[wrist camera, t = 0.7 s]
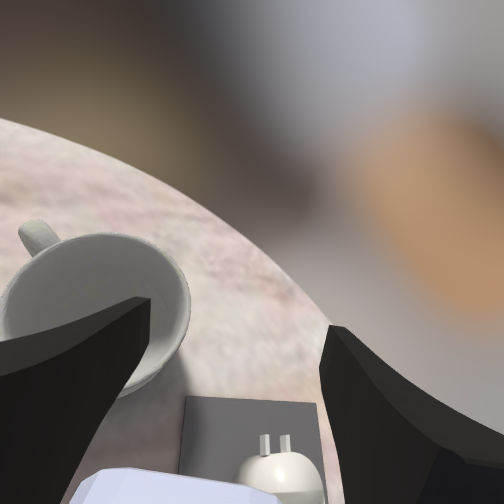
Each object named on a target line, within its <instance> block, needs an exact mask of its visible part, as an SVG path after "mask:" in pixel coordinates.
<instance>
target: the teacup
mask: <svg viewBox="0 0 504 504" xmlns="http://www.w3.org/2000/svg"><path fill="white" fill-rule="evenodd" d="M18 234H19V236H20V238H21V240H22V242H23V244H24V246H25V247H26V249H27V250H28V252H29V253H30V255H31V256H32V259H31V260H29V261H28V262H27V263H26V264H25V265H24V266H23V267H22V268H21V269H20V270H19V271H18V272H17V273H16V274H15V275H14V276H13V278H12V279H11V281H10V282H9V283H8V285H7V286H6V288H5V290H4V292H3V294H2V296H1V299H0V342H1V341H5V340H9V339H14V338H18V337H22V336H27V335H31V334H35V333H39V332H42V331H46V330H49V329H52V328H56V327H59V326H62V325H65V324H68V323H70V322H73V321H76V320H78V319H81V318H84V317H86V316H89V315H91V314H94V313H96V312H99V311H101V310H103V309H106V308H108V307H110V306H113V305H115V304H117V303H120V302H122V301H125V300H127V299H130V298H132V297H136V296H137V297H144V298H151V313H150V341H149V344H148V347H147V349H146V351H145V353H144V355H143V357H142V359H141V361H140V363H139V365H138V366H137V368H136V370H135V371H134V373H133V374H132V376H131V377H130V379H129V380H128V382H127V383H126V385H125V386H124V388H123V389H122V391H121V392H120V394H119V395H118V397H117V398H116V399H118V398H121V397H123V396H126V395H128V394H130V393H132V392H134V391H136V390H138V389H140V388H141V387H143V386H144V385H145V384H147V383H148V382H149V381H151V380H152V379H153V378H154V377H155V376H156V375H157V374H158V373H159V372H160V371H161V370H162V368H163V367H164V366H165V365H166V363H167V362H168V361H169V360H170V359H171V358H172V356H173V355H174V354H175V352H176V351H177V350H178V348H179V347H180V345H181V343H182V341H183V339H184V337H185V335H186V332H187V329H188V325H189V320H190V314H191V297H190V291H189V287H188V283H187V281H186V279H185V276H184V274H183V272H182V271H181V269H180V268H179V266H178V265H177V263H176V262H175V261H174V260H173V258H172V257H171V256H169V255H168V254H167V253H166V252H165V251H163V250H161V249H160V248H159V247H157V246H156V245H155V244H152V243H151V242H149V241H147V240H145V239H142V238H140V237H136V236H132V235H128V234H123V233H115V232H98V233H90V234H85V235H80V236H76V237H73V238H70V239H66V240H63V241H61V240H60V239H59V237H58V236H57V235H56V233H55V232H54V231H53V230H52V228H51V227H50V226H49V225H48V224H47V223H45V222H44V221H42V220H32V221H29V222H27V223H24V224H23V225H22V226H21V227H20V228H19V230H18Z"/></svg>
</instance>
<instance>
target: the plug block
mask: <svg viewBox="0 0 504 504" xmlns="http://www.w3.org/2000/svg"><path fill="white" fill-rule="evenodd" d="M280 449H281V453H276V454H270V443H269V435H268V434H265V435H260V455H254V456H250V457H248V458H246V459H245V460H244V461H243V462H242V463H241V464H240V465H239V467H238V468H237V470H236V472H235V475H234V478H233V483H234V484H241V485H247V486H252V487H254V488H257V489H260V490H263V491H265V492H268V493H271V494H274V495H275V496H276V497H277V498H278V499H279V500H280V501H281V502H282V503H283V504H325V499H324V491H323V485H322V481H321V478H320V475H319V473H318V471H317V469H316V467H315V466H314V465H313V463H312V462H311V461H310V460H309V459H308V458H307V457H305V456H304V455H302V454H300V453H296V452H291V449H290V435H282V436H280Z"/></svg>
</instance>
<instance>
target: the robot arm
mask: <svg viewBox="0 0 504 504" xmlns="http://www.w3.org/2000/svg"><path fill="white" fill-rule="evenodd" d="M150 313H151V298H144V297H137V296H136V297H132V298H130V299H127V300H125V301H122V302H120V303H117V304H115V305H113V306H110V307H108V308H106V309H103V310H101V311H99V312H96V313H94V314H91V315H89V316H86V317H84V318H81V319H78V320H76V321H73V322H70V323H68V324H65V325H62V326H59V327H56V328H52V329H49V330H46V331H42V332H39V333H35V334H31V335H27V336H22V337H18V338H14V339H9V340H5V341H1V342H0V504H60V502H61V500H62V498H63V496H64V494H65V492H66V490H67V488H68V486H69V483H70V481H71V479H72V477H73V475H74V473H75V471H76V469H77V468H78V466H79V464H80V462H81V460H82V458H83V456H84V454H85V452H86V450H87V448H88V446H89V444H90V442H91V440H92V438H93V436H94V435H95V433H96V431H97V429H98V427H99V425H100V423H101V422H102V420H103V418H104V417H105V415H106V413H107V412H108V410H109V409H110V407H111V406H112V404H113V403H114V401H115V400H116V398H117V397H118V395H119V394H120V392H121V391H122V389H123V388H124V386H125V385H126V383H127V382H128V380H129V379H130V377H131V376H132V374H133V373H134V371H135V370H136V368H137V366H138V365H139V363H140V361H141V359H142V357H143V355H144V353H145V351H146V349H147V347H148V344H149V341H150ZM319 373H320V382H321V390H322V395H323V399H324V403H325V407H326V411H327V415H328V419H329V423H330V426H331V430H332V434H333V438H334V442H335V446H336V450H337V455H338V460H339V466H340V472H341V479H342V485H343V492H344V499H345V504H504V435H503V434H500V433H498V432H496V431H494V430H492V429H490V428H488V427H486V426H484V425H482V424H480V423H478V422H476V421H474V420H472V419H470V418H469V417H467V416H465V415H463V414H461V413H459V412H457V411H456V410H454V409H452V408H450V407H449V406H447V405H445V404H444V403H442V402H440V401H438V400H437V399H435V398H434V397H432V396H430V395H429V394H427V393H426V392H424V391H423V390H421V389H420V388H418V387H417V386H415V385H414V384H413V383H411V382H410V381H408V380H407V379H405V378H404V377H403V376H401V375H400V374H399V373H398V372H396V371H395V370H394V369H393V368H391V367H390V366H389V365H388V364H386V363H385V362H384V361H383V360H382V359H380V358H379V357H378V356H377V355H376V354H375V353H373V352H372V351H371V350H370V349H369V348H368V347H367V346H366V345H365V344H364V343H362V342H361V341H360V340H359V339H358V338H357V337H356V336H355V335H353V334H352V333H351V332H350V331H349V330H348V329H346V328H345V327H341V326H334V325H329V328H328V332H327V336H326V340H325V345H324V349H323V353H322V357H321V361H320V365H319ZM69 504H283V503H282V502H281V501H280V500H279V499H278V498H277V497H276V496H275V495H274V494H271V493H268V492H265V491H263V490H260V489H257V488H254V487H252V486H247V485H241V484H234V483H228V482H221V481H215V480H209V479H202V478H196V477H189V476H183V475H176V474H170V473H164V472H157V471H151V470H144V469H138V468H131V467H129V468H107V469H103V470H100V471H98V472H97V473H95V474H93V475H92V476H90V477H88V478H87V479H85V480H83V481H82V482H81V483H80V485H79V487H78V489H77V490H76V492H75V494H74V495H73V497H72V499H71V501H70V502H69Z"/></svg>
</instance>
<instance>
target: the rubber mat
mask: <svg viewBox="0 0 504 504" xmlns="http://www.w3.org/2000/svg"><path fill="white" fill-rule="evenodd" d="M265 434H268V435H269V443H270V454H276V453H281V449H280V436H282V435H290V449H291V452H296V453H300V454H302V455H304V456H305V457H307V458H308V459H309V460H310V461H311V462H312V463H313V465H314V466H315V467H316V469H317V471H318V473H319V475H320V478H321V481H322V485H323V491H324V499H325V504H328V496H327V488H326V480H325V472H324V464H323V455H322V447H321V439H320V431H319V423H318V415H317V406H316V403H307V402H289V401H271V400H253V399H235V398H217V397H199V396H186V402H185V412H184V421H183V431H182V441H181V451H180V460H179V470H178V475H183V476H189V477H196V478H202V479H209V480H215V481H221V482H228V483H233V478H234V475H235V472H236V470H237V468H238V467H239V465H240V464H241V463H242V462H243V461H244V460H245V459H246V458H248V457H250V456H254V455H260V435H265Z"/></svg>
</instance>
